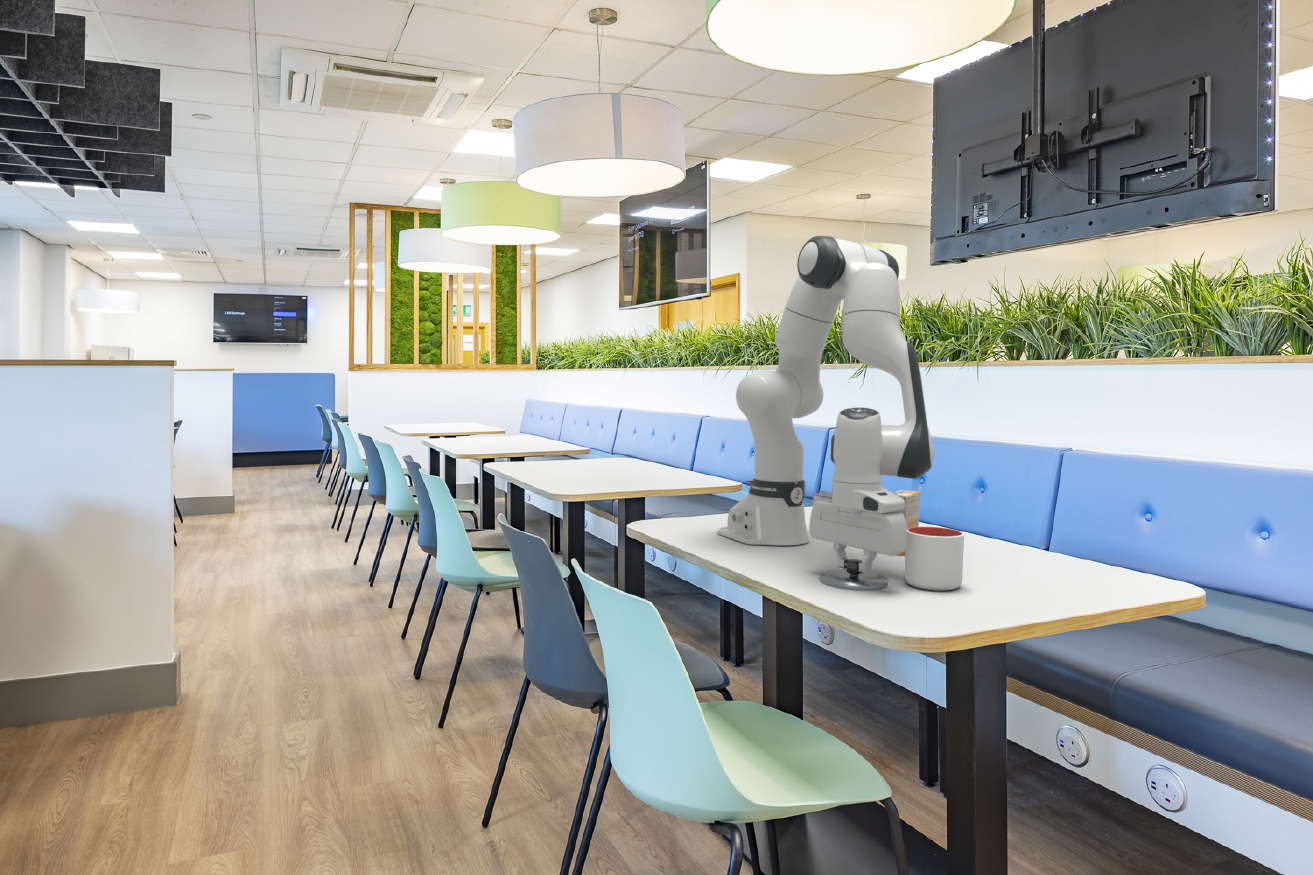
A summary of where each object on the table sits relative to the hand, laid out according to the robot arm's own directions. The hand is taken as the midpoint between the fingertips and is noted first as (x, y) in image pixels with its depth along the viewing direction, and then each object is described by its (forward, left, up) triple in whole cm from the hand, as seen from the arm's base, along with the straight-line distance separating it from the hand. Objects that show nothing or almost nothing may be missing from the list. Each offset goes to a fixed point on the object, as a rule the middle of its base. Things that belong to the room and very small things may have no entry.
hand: (854, 570), depth 155 cm
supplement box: (-12, +30, -2) cm, 32 cm away
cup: (+10, +10, -2) cm, 14 cm away
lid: (0, 0, -2) cm, 2 cm away
